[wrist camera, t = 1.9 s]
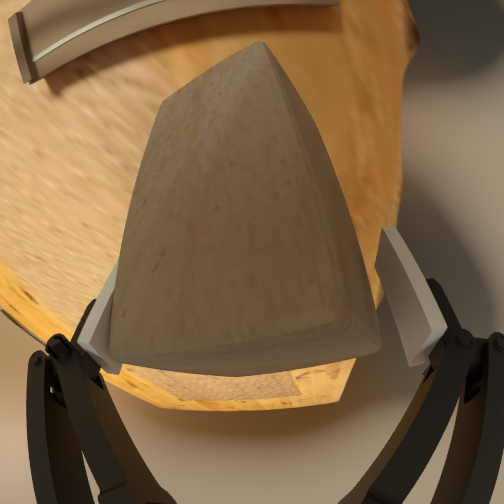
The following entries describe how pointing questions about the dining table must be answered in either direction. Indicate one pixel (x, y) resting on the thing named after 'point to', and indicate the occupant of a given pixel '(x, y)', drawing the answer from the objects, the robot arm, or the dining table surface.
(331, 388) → the dining table surface
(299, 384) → the dining table surface
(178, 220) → the wooden block
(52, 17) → the curved panel
